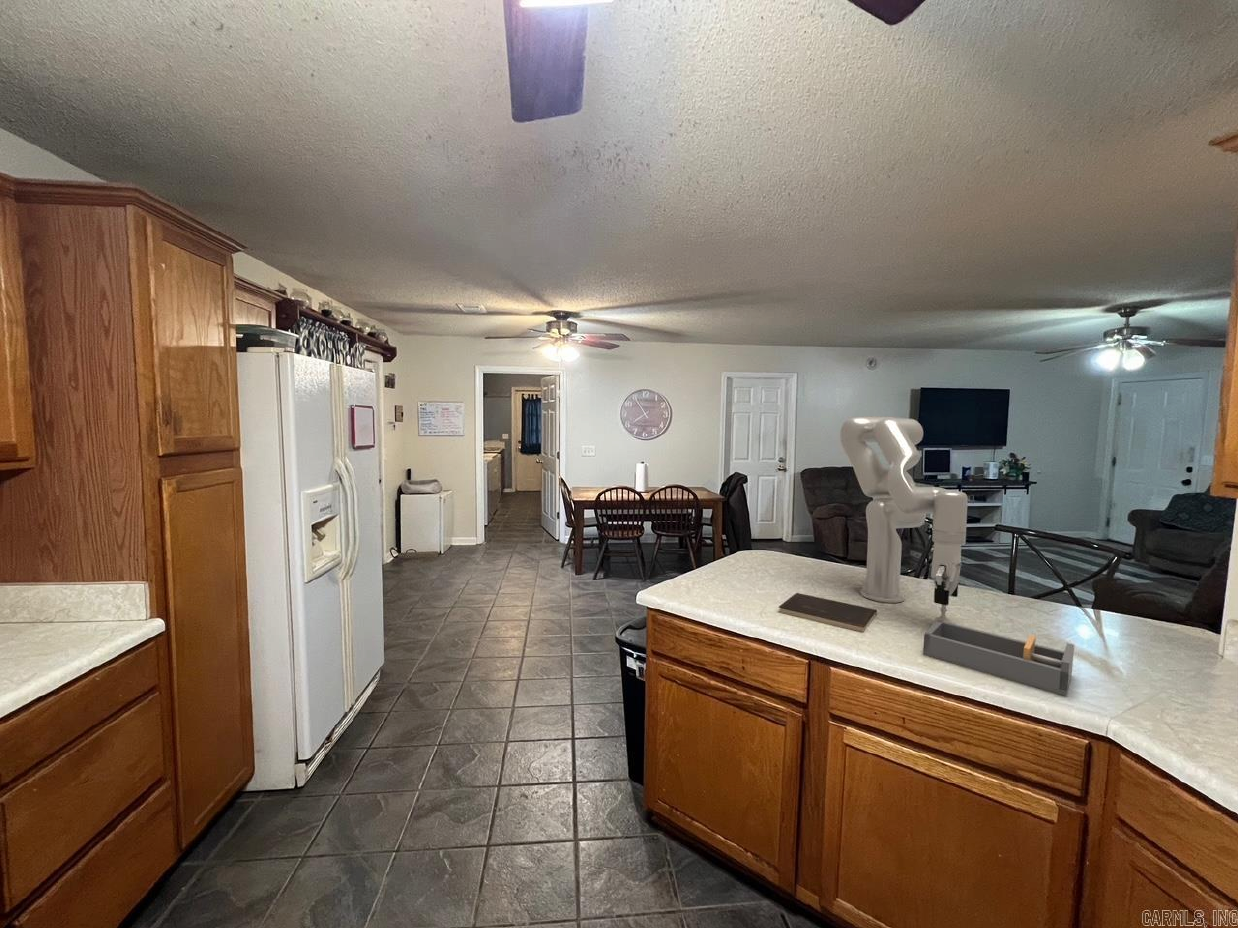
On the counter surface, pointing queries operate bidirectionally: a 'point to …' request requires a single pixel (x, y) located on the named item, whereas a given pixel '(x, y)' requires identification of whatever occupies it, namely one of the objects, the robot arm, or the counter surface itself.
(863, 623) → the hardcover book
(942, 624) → the tray
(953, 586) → the chalice
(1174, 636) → the counter surface
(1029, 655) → the pusher
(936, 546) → the robot arm
